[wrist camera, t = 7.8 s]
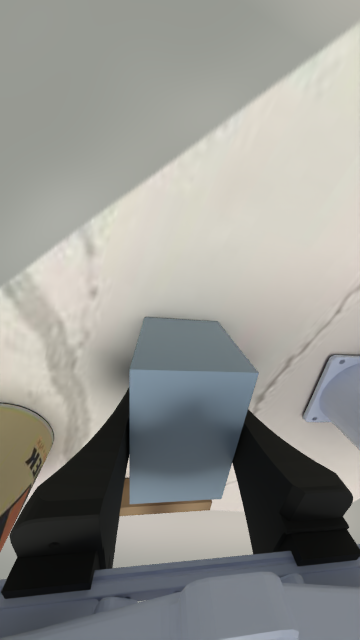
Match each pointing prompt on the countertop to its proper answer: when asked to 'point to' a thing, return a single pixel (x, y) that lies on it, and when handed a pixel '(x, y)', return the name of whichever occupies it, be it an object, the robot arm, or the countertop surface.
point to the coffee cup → (19, 460)
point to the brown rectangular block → (158, 505)
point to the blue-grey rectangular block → (185, 409)
